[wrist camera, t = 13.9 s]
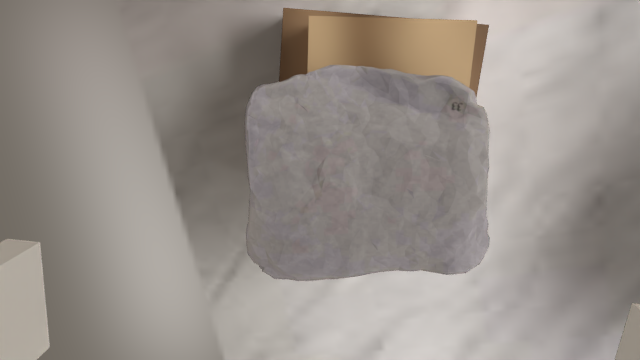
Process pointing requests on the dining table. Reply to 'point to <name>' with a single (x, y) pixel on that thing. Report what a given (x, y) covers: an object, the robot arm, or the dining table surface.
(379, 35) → the tower top block
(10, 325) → the robot arm
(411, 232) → the stone block
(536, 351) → the dining table surface
